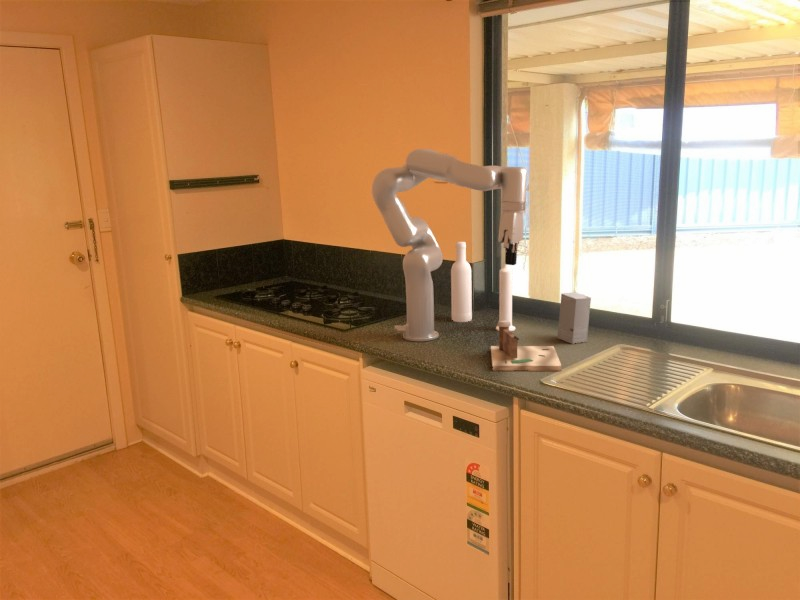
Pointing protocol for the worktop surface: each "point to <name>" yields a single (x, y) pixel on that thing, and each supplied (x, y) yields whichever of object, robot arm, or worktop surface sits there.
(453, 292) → the bottle
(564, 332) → the skincare box
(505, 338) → the peg
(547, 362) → the tuner plate
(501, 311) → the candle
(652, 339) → the worktop surface
